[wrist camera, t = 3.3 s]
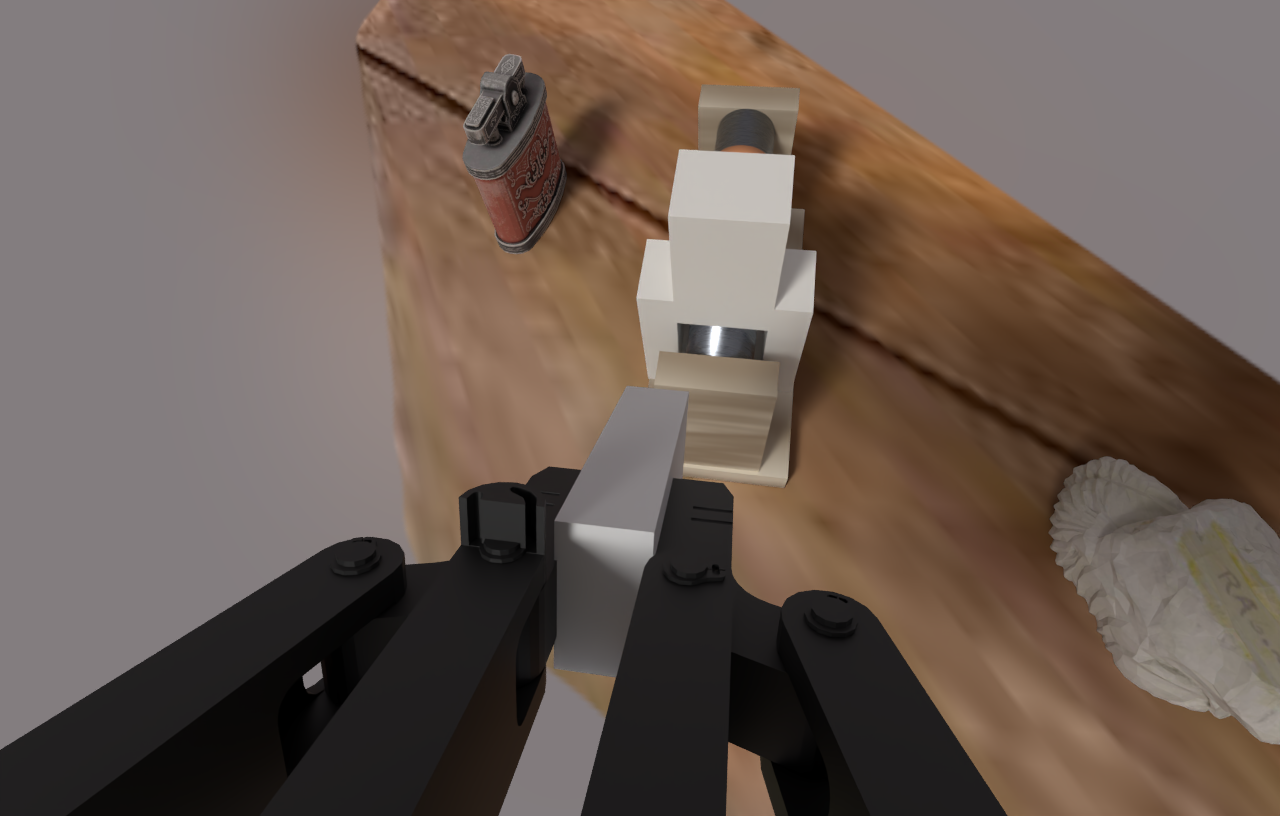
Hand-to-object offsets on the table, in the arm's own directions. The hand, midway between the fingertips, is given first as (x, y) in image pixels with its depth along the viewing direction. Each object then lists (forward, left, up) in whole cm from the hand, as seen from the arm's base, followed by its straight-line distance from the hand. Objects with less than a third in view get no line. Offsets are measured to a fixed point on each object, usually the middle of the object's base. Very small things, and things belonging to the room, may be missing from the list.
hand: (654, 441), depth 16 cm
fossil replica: (-12, -18, -20) cm, 30 cm away
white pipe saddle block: (+7, -8, -14) cm, 18 cm away
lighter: (+27, -5, -20) cm, 34 cm away
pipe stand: (+11, -10, -20) cm, 25 cm away
